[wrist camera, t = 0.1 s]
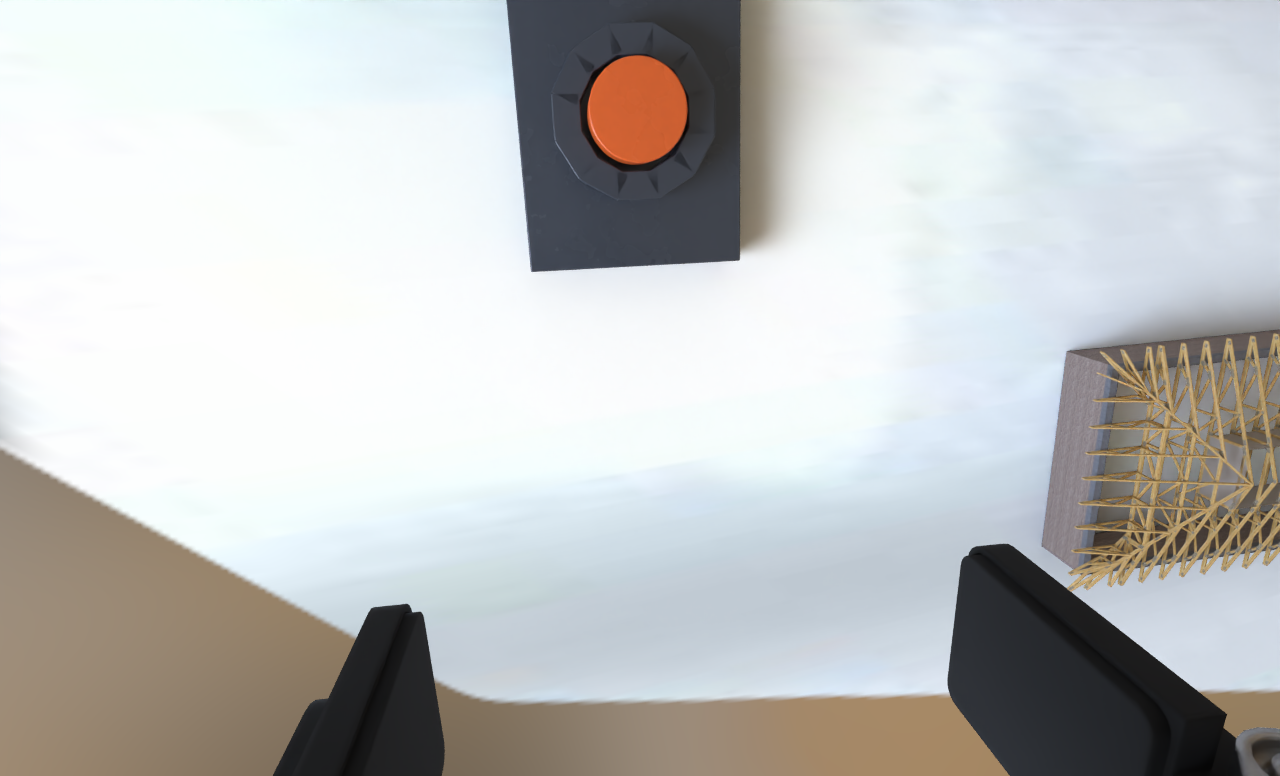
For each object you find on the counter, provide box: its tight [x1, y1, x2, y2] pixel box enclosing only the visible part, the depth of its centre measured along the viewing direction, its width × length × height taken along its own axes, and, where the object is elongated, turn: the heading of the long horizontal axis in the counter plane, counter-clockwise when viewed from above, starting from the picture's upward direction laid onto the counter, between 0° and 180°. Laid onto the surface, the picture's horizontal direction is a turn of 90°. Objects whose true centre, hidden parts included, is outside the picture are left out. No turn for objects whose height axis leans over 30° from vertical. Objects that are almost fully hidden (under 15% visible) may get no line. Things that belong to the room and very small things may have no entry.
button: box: [587, 55, 688, 165], centre depth 27 cm, size 4×4×2 cm
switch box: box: [507, 0, 741, 272], centre depth 29 cm, size 13×10×4 cm
